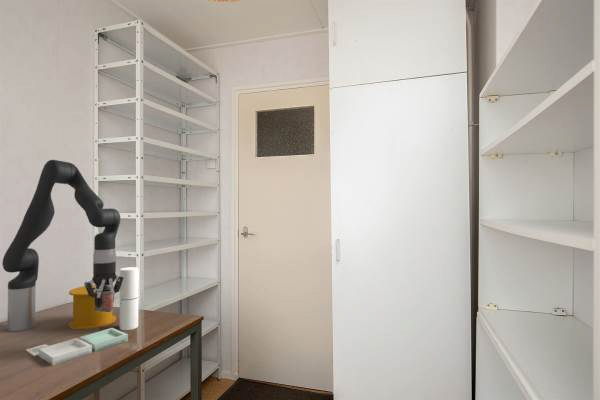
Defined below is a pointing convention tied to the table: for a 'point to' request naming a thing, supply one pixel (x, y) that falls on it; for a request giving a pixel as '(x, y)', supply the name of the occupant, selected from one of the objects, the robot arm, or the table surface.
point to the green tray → (105, 338)
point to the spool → (87, 311)
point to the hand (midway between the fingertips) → (104, 305)
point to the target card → (35, 350)
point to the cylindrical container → (129, 298)
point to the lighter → (106, 300)
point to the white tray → (65, 351)
